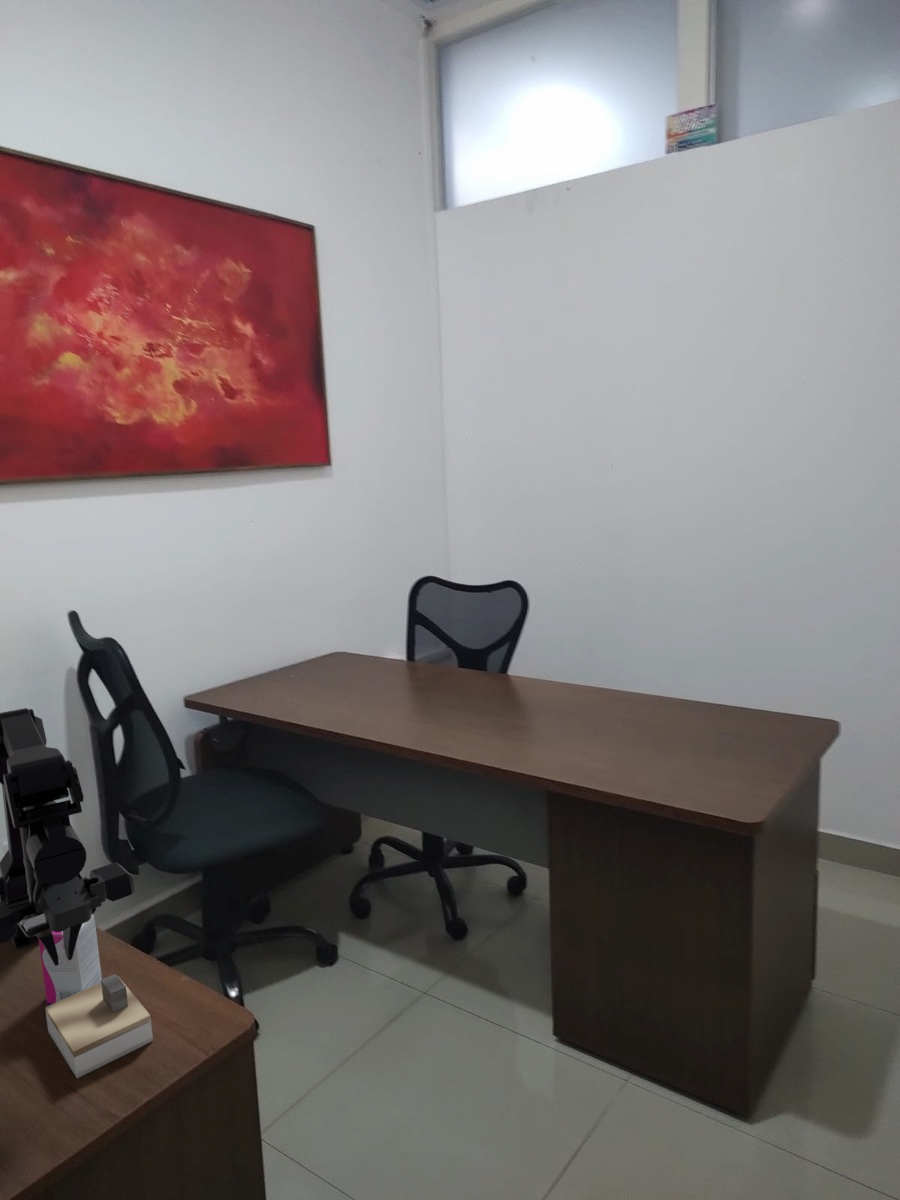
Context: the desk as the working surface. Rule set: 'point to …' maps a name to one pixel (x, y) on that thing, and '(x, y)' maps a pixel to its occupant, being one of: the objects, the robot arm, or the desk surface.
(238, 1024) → the desk surface
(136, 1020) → the lid
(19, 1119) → the desk surface
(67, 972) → the supplement box
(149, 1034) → the white storage tray
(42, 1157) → the desk surface
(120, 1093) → the desk surface
